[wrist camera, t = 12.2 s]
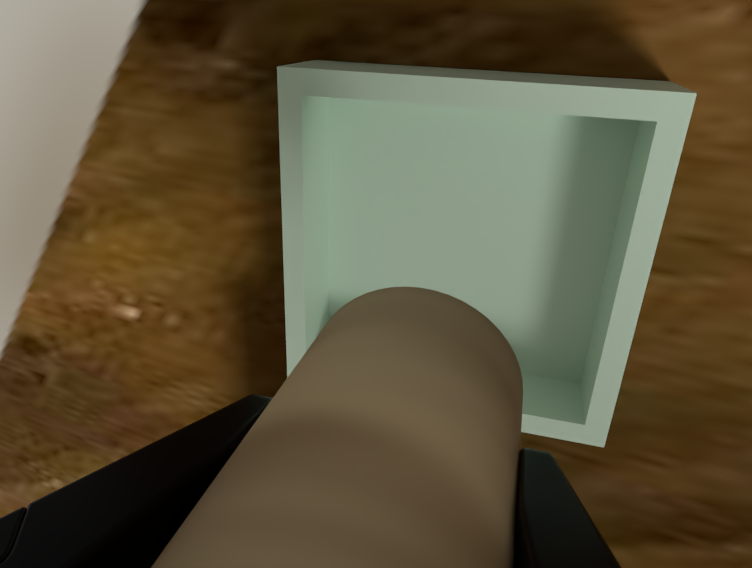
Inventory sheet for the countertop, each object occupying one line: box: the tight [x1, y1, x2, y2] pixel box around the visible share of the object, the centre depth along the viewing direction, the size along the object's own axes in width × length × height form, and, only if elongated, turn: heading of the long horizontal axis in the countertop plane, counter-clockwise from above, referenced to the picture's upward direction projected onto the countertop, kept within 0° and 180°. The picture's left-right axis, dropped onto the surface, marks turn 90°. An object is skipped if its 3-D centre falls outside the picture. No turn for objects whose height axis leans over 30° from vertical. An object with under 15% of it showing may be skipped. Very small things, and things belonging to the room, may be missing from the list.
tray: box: [277, 60, 697, 447], centre depth 15 cm, size 9×9×3 cm
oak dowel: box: [151, 286, 523, 568], centre depth 7 cm, size 4×4×7 cm
